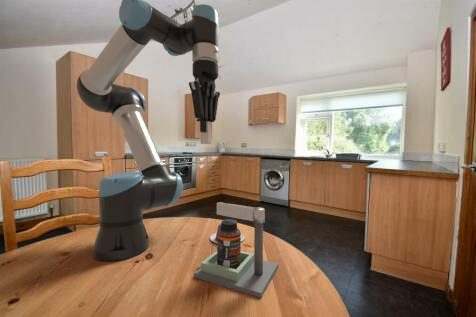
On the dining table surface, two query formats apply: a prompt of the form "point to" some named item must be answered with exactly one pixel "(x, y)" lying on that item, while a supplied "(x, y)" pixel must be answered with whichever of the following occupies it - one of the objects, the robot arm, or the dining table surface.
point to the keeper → (241, 212)
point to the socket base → (241, 269)
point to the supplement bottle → (229, 244)
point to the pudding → (214, 236)
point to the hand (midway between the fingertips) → (205, 143)
